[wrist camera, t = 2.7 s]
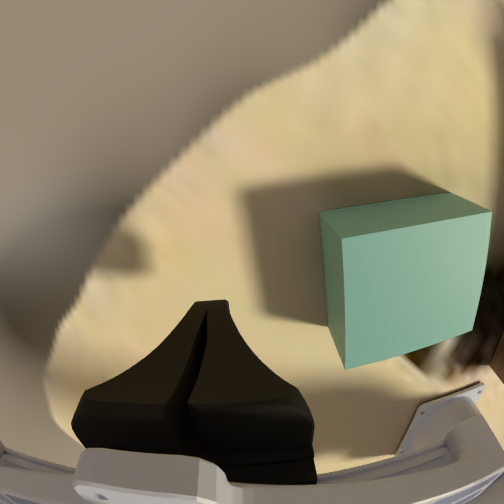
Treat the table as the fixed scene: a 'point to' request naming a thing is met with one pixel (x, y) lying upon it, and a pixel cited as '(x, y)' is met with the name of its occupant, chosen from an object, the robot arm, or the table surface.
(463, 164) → the table surface
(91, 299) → the table surface
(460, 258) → the teal block
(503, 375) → the walnut board
